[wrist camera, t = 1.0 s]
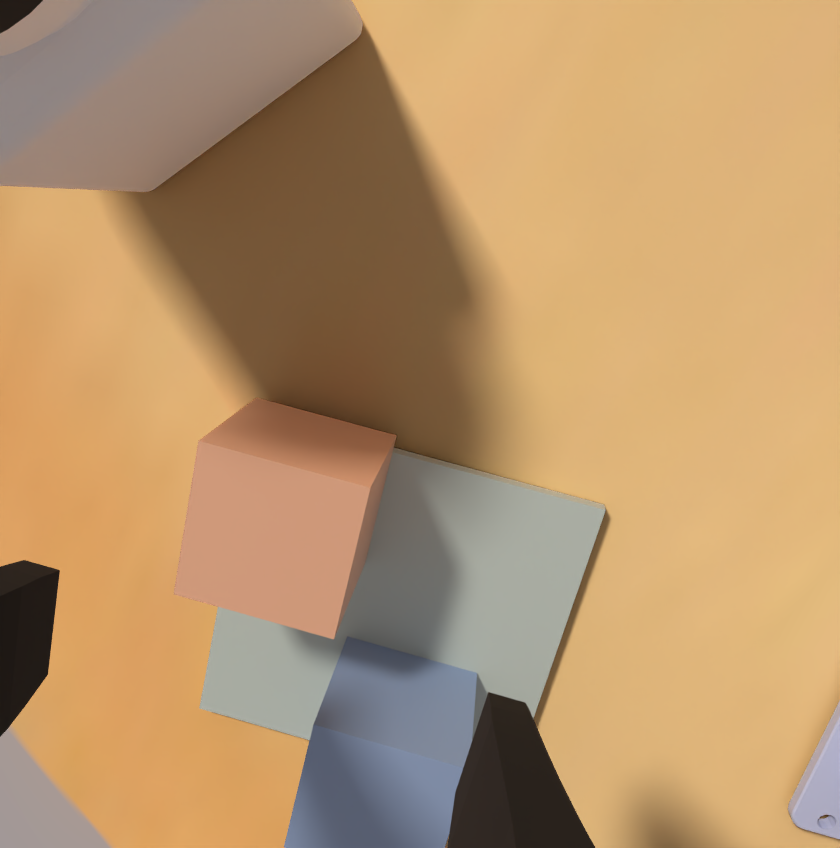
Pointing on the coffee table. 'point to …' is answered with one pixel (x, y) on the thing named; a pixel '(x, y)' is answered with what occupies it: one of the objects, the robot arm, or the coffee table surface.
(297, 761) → the coffee table surface
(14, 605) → the robot arm
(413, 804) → the blue brick
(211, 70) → the medicine bottle
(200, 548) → the salmon orange cube
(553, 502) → the plate
